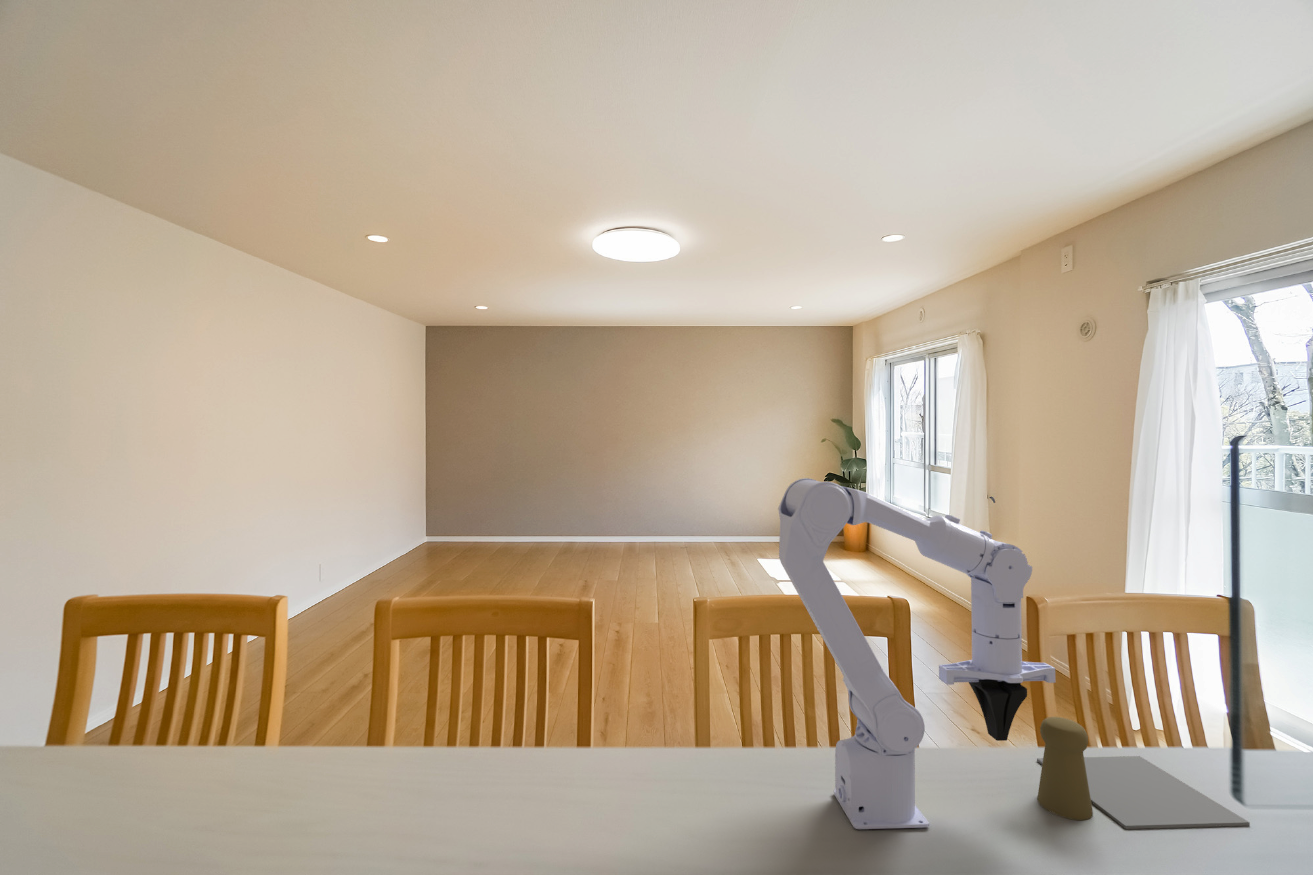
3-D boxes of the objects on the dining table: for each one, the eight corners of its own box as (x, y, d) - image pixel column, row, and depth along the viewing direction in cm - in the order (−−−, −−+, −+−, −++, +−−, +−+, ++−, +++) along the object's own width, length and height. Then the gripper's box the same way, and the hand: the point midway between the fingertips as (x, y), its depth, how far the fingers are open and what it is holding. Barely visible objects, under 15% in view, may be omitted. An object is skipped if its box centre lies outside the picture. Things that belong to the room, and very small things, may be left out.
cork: (1102, 822, 75) (1101, 734, 75) (1049, 816, 76) (1048, 729, 76) (1079, 795, 80) (1077, 713, 81) (1029, 790, 82) (1028, 709, 82)
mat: (1125, 828, 73) (1125, 825, 73) (1036, 760, 89) (1036, 758, 89) (1249, 825, 74) (1249, 822, 74) (1139, 758, 90) (1139, 755, 90)
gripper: (959, 643, 74) (960, 753, 74) (1072, 641, 74) (1073, 751, 74) (930, 626, 81) (931, 727, 81) (1034, 624, 82) (1035, 724, 81)
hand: (997, 736), depth 78 cm, fingers closed
